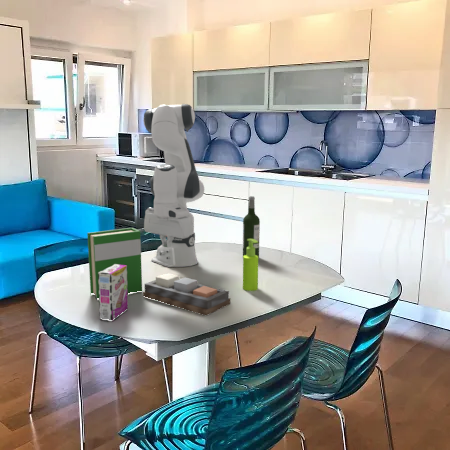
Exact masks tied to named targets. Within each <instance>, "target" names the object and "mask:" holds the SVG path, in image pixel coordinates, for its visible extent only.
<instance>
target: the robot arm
mask: <svg viewBox="0 0 450 450" xmlns="http://www.w3.org/2000/svg"><path fill="white" fill-rule="evenodd" d="M142 118H143V120H142V121H143V125H144V127H145V130H146V131H147V132H148V133H150V134H151V139H152V143H153V144H154V145H155V147H156V148H158V150H160V151H163V155H164V156H163V157H164V162H165V163H163V164H157V165H156V166H155V167H154V173H153V175H152V177H150V180H149V181H150V193H151V194H152V195H153V196H154V199H153V207H147V209H146V210H145V213H144V214H145V215H144V220H143V221H144V222H143V230H144V231H145V233H150V234H155V235H159V238H160V241H161V242H162V244H161V245H160V246H158V247H157V249H156V254H155V255H156V256H153V257H152V258H151V262H153V263H156V264H159V265H162V266H164V267H166V268H167V267H168V268H175V267H179V268H181V267H183V268H184V267H191V266H194V265H197V264H198V263H199V261H198V258H197V252H196V245H195V243H196V233H195V217H194V215H193V213H191V212H190V210H189V209H188V206H187V203H193V202H195V201H198V200H200V199H201V198H202V197H203V196H204V194H205V185H204V183H203V182H202V181H201V180H200V177H199V175H198V172H197V168H196V165H195V161H194V157H193V153H192V150H191V146H190V144H189V141H188V138H187V134H186V133H188V132H189V130H190V129H192V127H193V126H194V124H195V119H196V113H195V110H194V109H193V107H192V106H191V105H190V104H188V103H182V104H169V105H168V104H160V105H158V106H157V107H155V108H149V109H147V110H146V111H145V112H144V113H143V117H142Z"/></svg>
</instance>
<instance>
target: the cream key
mask: <svg viewBox="0 0 450 450" xmlns="http://www.w3.org/2000/svg"><path fill="white" fill-rule="evenodd" d="M179 279H180V276H179V275H177V274H172V273H168V272H167V273H164V274H160V275H157V276H155V280H156V285H160V286H164V287H167V288H168V287H171V286H174V281H176V280H179Z"/></svg>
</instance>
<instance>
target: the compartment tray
mask: <svg viewBox="0 0 450 450" xmlns="http://www.w3.org/2000/svg"><path fill="white" fill-rule="evenodd" d="M203 286H206V287H210V288H214V289H217V294H215V295H212V296H210V297H208V298H205V297H202V296H198V295H194V294H193V290H192V291H190V292H187V293H186V292H183V291H179V290H175V289H174V286H171V287H168V288H167V287H164V286H160V285H156V279H154V280H152V281H149V282H146V283H144V291H142V297H143V296H145V297H148V298H151V299H155V300H158V301H161V302H164V303H167V304H170V305H169V306H171V305H174V306H177V307H176V308H178V307H180V308H179V309H181V308H184V309H183V310H185V309H186V310H185V311H188V310H189V312H192V311H193V312H192V313H195V312H196V313H195V314H198V313H200V314H199V315H202V314H203V315H202V316H205V315H207V316H208V315H210V314H213V313H215V312H216V311H219V310H222V309H223V308H225V307H227V306H229V305H231V298H230V291H229V290H225V289H222V288H218V287H217V288H216V287H214V286H210V285H205V284H201V283H197V289H198V288H200V287H203ZM161 302H160V303H161ZM164 303H163V304H164ZM167 304H166V305H167ZM174 306H173V307H174Z"/></svg>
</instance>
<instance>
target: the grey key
mask: <svg viewBox="0 0 450 450" xmlns="http://www.w3.org/2000/svg"><path fill="white" fill-rule="evenodd" d="M197 284H198V280H197V279H194V278H189V277H182V278H179V280H176V281H174V289H175V290H179V291H183V292H186V293H187V292H190V291H192V290H195V289H197Z"/></svg>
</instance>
